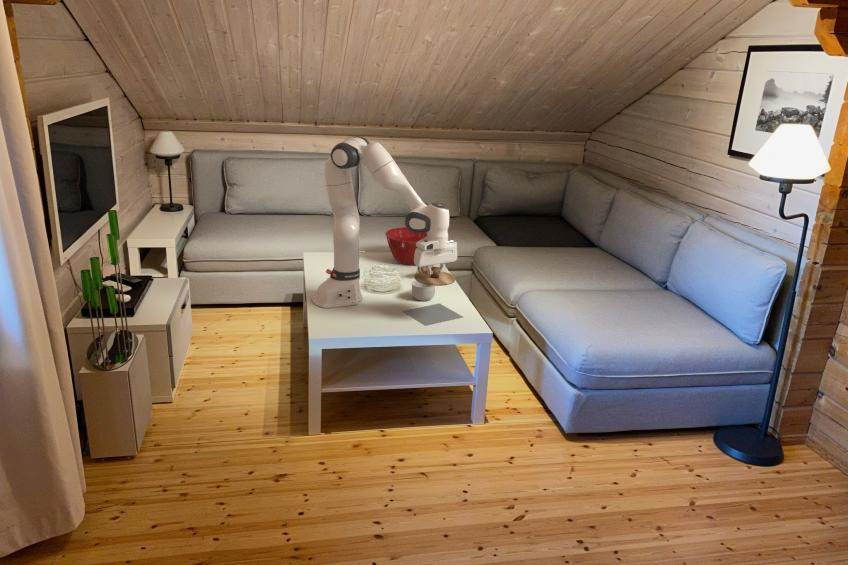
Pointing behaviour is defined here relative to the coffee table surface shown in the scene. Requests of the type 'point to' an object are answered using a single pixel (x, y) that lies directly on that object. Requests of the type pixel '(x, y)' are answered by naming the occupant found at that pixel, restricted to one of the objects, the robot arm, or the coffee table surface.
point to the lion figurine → (423, 268)
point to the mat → (432, 314)
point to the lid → (435, 277)
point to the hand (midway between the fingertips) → (435, 273)
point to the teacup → (422, 291)
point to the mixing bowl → (403, 244)
